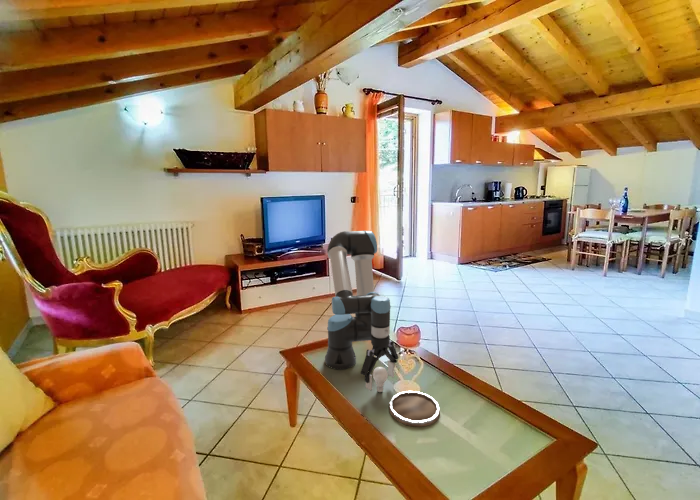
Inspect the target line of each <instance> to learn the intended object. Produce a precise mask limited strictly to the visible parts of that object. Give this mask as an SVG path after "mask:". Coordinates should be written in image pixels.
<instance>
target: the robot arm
mask: <svg viewBox="0 0 700 500" xmlns="http://www.w3.org/2000/svg"><path fill="white" fill-rule="evenodd" d="M377 252H378V242H377V238H376V236H375V234H374V232H373V231H371V230H351V231H350V230H349V231H348V230H346V231H340V232H338V233H337V234H335V235H333V237H332V238H331V239H330V241H329V243H328V245H327V257H328V259H329V260H330V265H331V266H330V267H331V273H332V280H333V287H334V295H335V296H333V297H331V310H332V313H333V315H331V316H330V317H329V319H328V320H327V351H326V354H325V357H324V363H325V362H326V364H327V365H328V366H330V367H332V368H331V369H333V368H335V369H334V370H346V369H350V368H352V367H353V366H355V365H356V363H357V355H356V353H355V350H354V348H353V343H354V342H366V341H367V342H368V341H370V343H371V345H372V347H371V349H367V350H366V353H365V354H366V355H365V358H364V361H363V364H362V367H361V370H360V374H361V375H363V376H364V382H365V388H366V389H367V390H369V391H371V390H373V389H372V388H373V386H372V385H373V381H372V380H373V374H372V373H373V371H374V369H375V365H376V364H377V361H379V359H380V358H382V357H385V356H386V357H387V359H388V362H387V372H388V377H391V378H394V377H395V368H396V367H395V365H396V363H397V362H398V359H399V355H398V352H397V351H396V348H395V343H394V341H392V340H391V337H390V336H391V335H390V333H391V332H390V331H391V330H390V328H391V327H390V326H391V308H392V307H391V300H390V298H389V297H388V296H384V295H381V294H379V293H378V292H376V291H375V286H374V285H375V284H374V274H373V263H372V262H373V259H374V258H375V254H377ZM348 255H351V259H352V260H353V261H354V269H355V270H354V272H355V283H356V284H355V285H356V295H353V287H352V283H351V277H350V272H349V271H350V270H349V266H348V260H347V256H348ZM353 314H354V315H355V316H353ZM326 364H325V365H326ZM327 365H326V366H327ZM328 366H327V367H328ZM330 367H329V368H330Z"/></svg>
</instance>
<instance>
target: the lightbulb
mask: <svg viewBox="0 0 700 500" xmlns="http://www.w3.org/2000/svg"><path fill="white" fill-rule="evenodd" d="M388 377H389V375H388V369H386V368H385V367H383V366H377V367H374V368H373V370H372V380H374V382H375V384H376V392H379V393H383V391H384V385H385V383H386V381H387V380H388Z"/></svg>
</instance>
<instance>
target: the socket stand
mask: <svg viewBox="0 0 700 500" xmlns="http://www.w3.org/2000/svg"><path fill="white" fill-rule="evenodd" d="M390 399H391V400H390V401H389V405H388V409H389V413H390V415H391V417H392V418H393V419H395V421H397V422H398V423H400V424H402V425H405V426H409V427H413V428H422V427H423V428H424V427H428V426H429V427H430V426H431V425H434V424H435V423H436V422H437V421H438V420H439V418H440V415H441V414H440V413H441V410H440V406H439V402H438V401H436V400H435V398H433V396H430V395H429V394H427V393H423V392H420V391H417V390H415V391H414V390H406V391H401V392H398V393H396V394H395V395H393V396H392V397H391V398H390Z"/></svg>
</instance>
